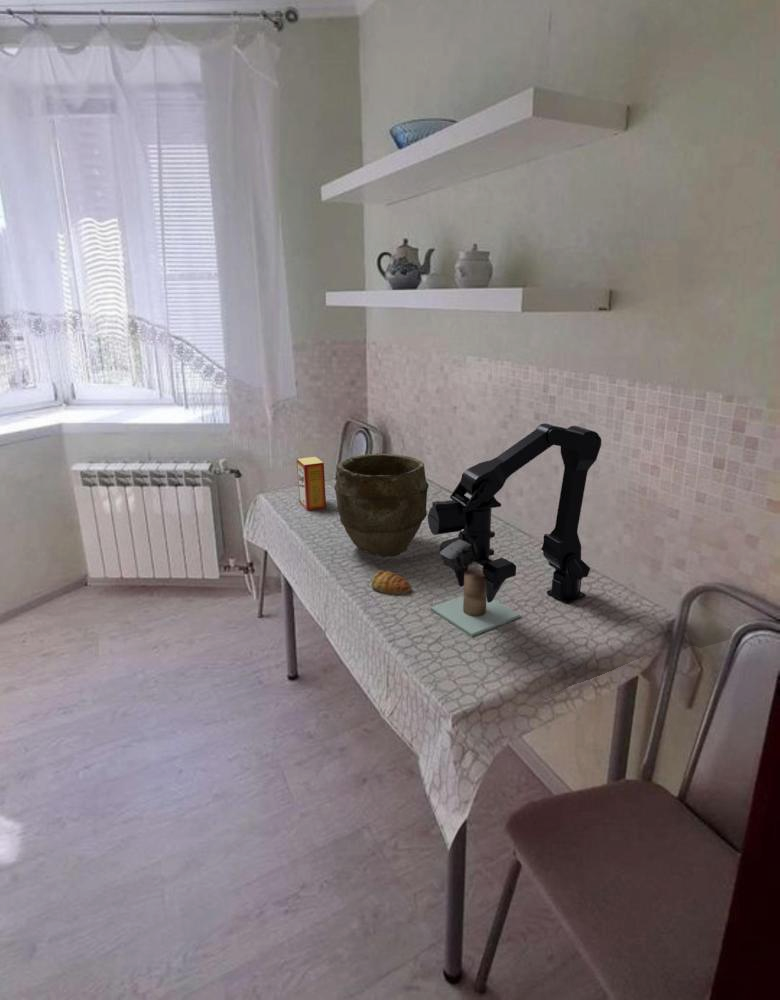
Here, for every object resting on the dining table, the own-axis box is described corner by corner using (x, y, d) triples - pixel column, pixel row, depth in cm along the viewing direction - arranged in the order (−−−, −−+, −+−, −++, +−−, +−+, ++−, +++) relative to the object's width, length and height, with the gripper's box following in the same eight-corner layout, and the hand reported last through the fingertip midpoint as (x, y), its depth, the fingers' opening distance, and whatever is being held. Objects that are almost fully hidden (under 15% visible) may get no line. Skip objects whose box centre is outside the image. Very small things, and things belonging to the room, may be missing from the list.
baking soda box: (299, 502, 212) (296, 457, 207) (317, 499, 214) (315, 455, 209) (307, 510, 203) (304, 464, 198) (326, 508, 206) (323, 461, 201)
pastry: (416, 587, 150) (415, 573, 148) (402, 599, 144) (402, 584, 143) (383, 579, 154) (382, 565, 153) (368, 590, 149) (368, 576, 147)
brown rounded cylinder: (475, 603, 140) (476, 567, 137) (490, 612, 136) (492, 575, 133) (458, 609, 137) (459, 572, 134) (473, 618, 133) (474, 581, 130)
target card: (477, 592, 146) (477, 590, 146) (520, 616, 135) (520, 614, 135) (430, 609, 139) (430, 607, 138) (471, 636, 128) (471, 633, 127)
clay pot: (406, 526, 188) (405, 446, 180) (444, 556, 166) (445, 467, 158) (326, 539, 179) (322, 456, 171) (355, 573, 157) (351, 480, 149)
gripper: (420, 523, 133) (420, 588, 138) (478, 550, 119) (475, 622, 124) (459, 512, 139) (458, 575, 144) (519, 537, 124) (515, 606, 129)
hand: (475, 593), depth 135 cm, fingers open, 9 cm apart
